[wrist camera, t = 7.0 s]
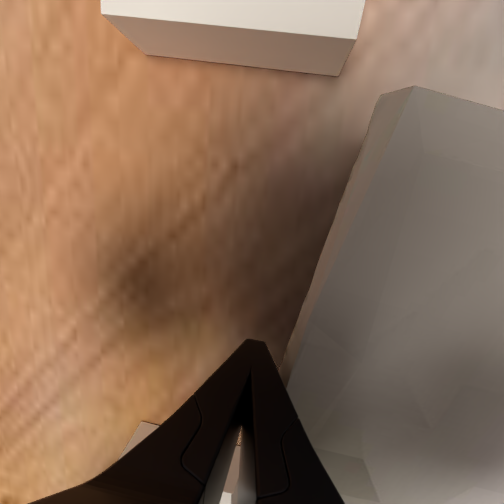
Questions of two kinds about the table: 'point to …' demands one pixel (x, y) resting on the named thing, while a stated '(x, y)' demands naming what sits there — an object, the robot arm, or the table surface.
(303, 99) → the table surface
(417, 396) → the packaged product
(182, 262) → the table surface
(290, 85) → the table surface
